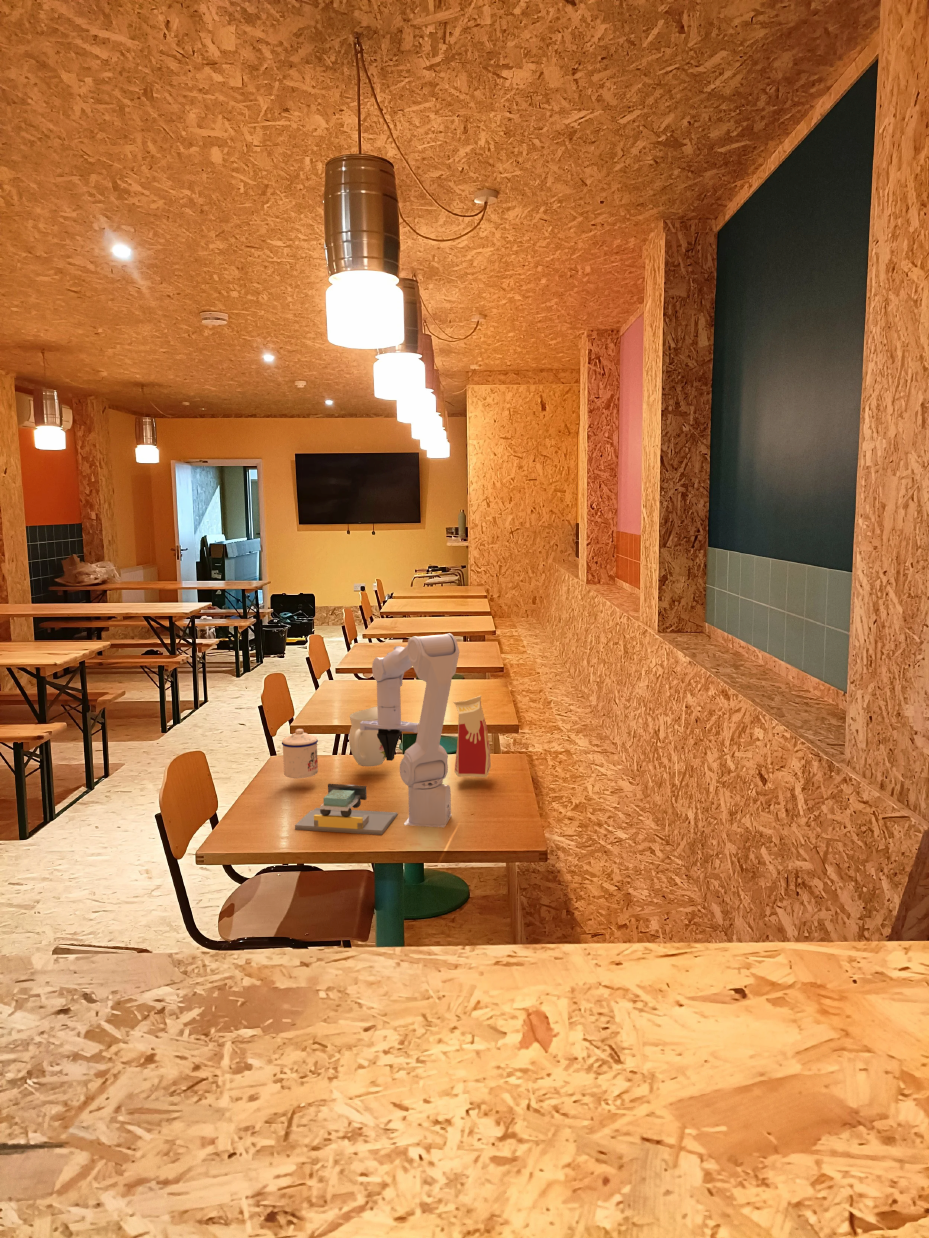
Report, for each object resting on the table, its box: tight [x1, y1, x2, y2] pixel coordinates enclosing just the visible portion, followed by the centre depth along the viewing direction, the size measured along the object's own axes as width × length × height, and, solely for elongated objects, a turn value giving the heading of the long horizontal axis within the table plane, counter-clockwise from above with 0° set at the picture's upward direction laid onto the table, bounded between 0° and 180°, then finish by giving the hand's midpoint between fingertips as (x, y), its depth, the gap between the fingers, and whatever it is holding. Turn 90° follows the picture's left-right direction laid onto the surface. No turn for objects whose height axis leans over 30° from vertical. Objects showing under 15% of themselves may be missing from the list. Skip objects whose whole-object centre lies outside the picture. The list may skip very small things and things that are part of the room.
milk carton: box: [452, 695, 492, 778], centre depth 205 cm, size 9×9×20 cm
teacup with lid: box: [281, 728, 319, 779], centre depth 207 cm, size 12×9×12 cm
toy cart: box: [319, 783, 368, 817], centre depth 178 cm, size 9×9×5 cm
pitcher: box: [348, 706, 386, 767], centre depth 213 cm, size 11×18×14 cm, turn 166°
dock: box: [294, 807, 398, 836], centre depth 181 cm, size 20×12×3 cm, turn 79°
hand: (390, 759), depth 197 cm, fingers closed
